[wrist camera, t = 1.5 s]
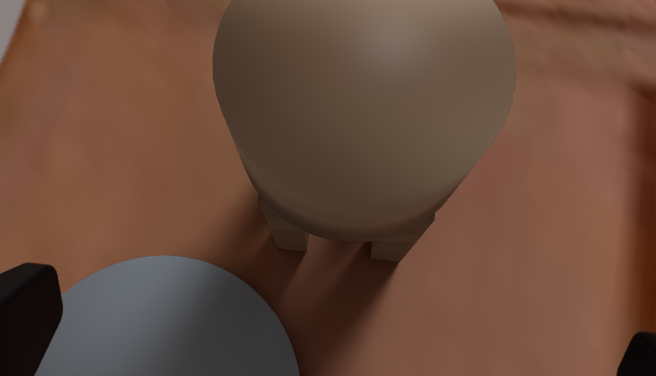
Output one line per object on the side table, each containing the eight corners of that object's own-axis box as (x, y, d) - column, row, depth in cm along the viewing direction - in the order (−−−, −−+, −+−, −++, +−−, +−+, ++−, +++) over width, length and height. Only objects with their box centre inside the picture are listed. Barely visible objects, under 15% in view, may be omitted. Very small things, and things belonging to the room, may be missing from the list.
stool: (420, 286, 21) (515, 219, 11) (252, 268, 22) (186, 184, 11) (429, 131, 23) (516, -51, 13) (275, 115, 24) (238, -78, 13)
